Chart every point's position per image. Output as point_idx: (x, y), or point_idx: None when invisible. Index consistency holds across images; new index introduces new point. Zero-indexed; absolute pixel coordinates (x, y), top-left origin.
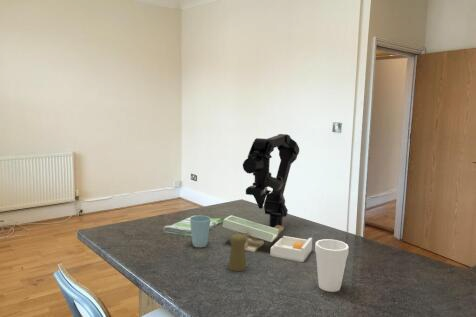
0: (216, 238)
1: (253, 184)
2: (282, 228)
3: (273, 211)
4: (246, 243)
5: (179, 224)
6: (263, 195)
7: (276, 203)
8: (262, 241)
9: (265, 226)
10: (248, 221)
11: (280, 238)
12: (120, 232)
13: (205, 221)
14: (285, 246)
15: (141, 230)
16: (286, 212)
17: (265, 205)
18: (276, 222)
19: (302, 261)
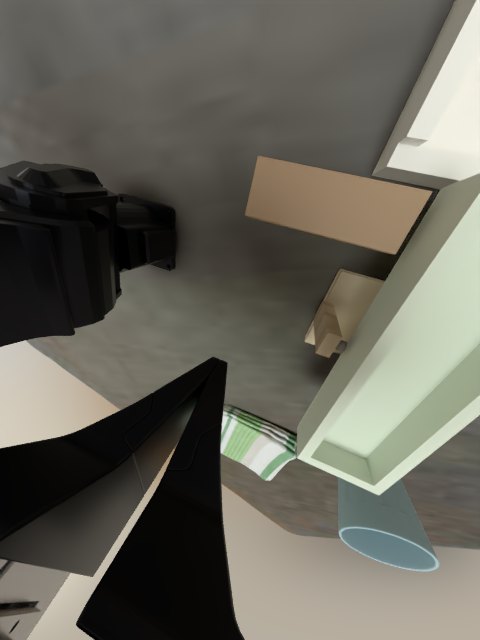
0: (300, 403)
1: None
2: (295, 164)
3: (113, 258)
4: None
5: (235, 454)
6: (226, 582)
7: (51, 248)
8: (350, 277)
9: (427, 295)
10: (354, 395)
11: (400, 168)
12: (290, 510)
13: (433, 553)
14: (444, 125)
15: (273, 491)
16: (61, 164)
17: (97, 316)
18: (151, 230)
19: None
